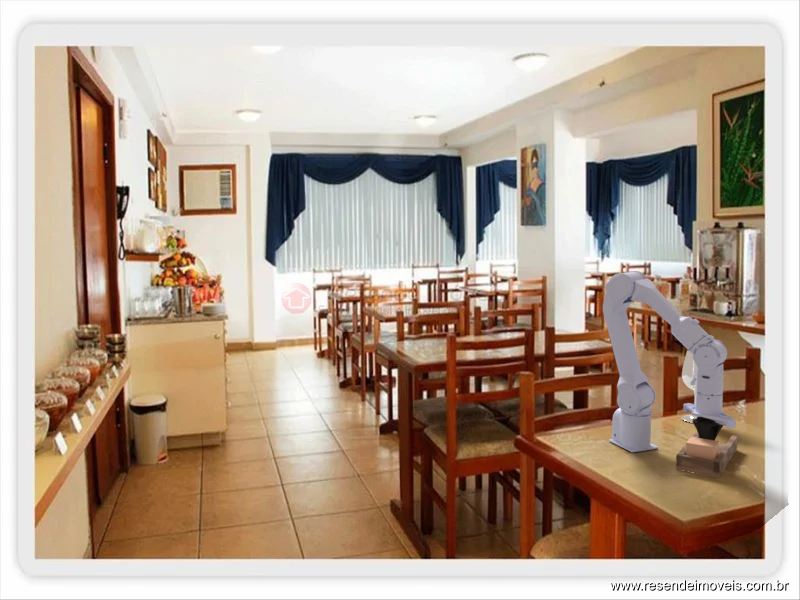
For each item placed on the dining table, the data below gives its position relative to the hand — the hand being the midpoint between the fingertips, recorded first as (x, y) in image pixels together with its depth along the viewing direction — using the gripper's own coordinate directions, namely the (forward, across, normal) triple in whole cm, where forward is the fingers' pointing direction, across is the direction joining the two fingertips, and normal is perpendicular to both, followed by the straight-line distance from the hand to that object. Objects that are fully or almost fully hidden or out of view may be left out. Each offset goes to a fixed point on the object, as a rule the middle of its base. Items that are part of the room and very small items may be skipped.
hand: (707, 449), depth 158 cm
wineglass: (+3, -28, +21) cm, 35 cm away
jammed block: (+2, +3, -4) cm, 5 cm away
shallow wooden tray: (+3, -1, +1) cm, 4 cm away
